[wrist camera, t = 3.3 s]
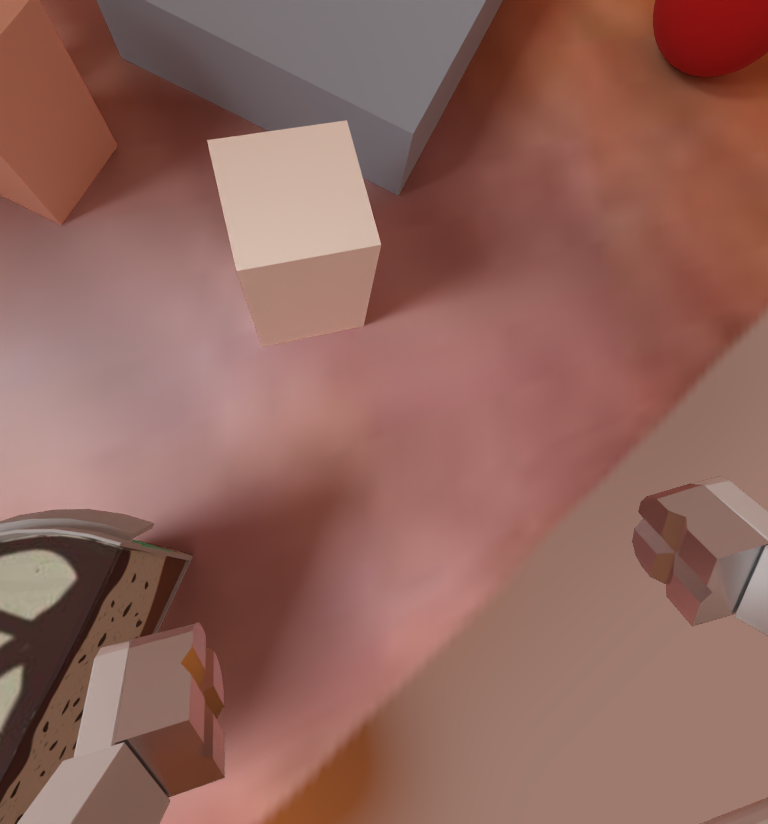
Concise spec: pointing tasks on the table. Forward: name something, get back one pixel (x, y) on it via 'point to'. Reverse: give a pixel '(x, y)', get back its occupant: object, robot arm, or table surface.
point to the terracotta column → (45, 116)
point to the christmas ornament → (711, 34)
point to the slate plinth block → (314, 63)
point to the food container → (67, 629)
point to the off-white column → (298, 228)
